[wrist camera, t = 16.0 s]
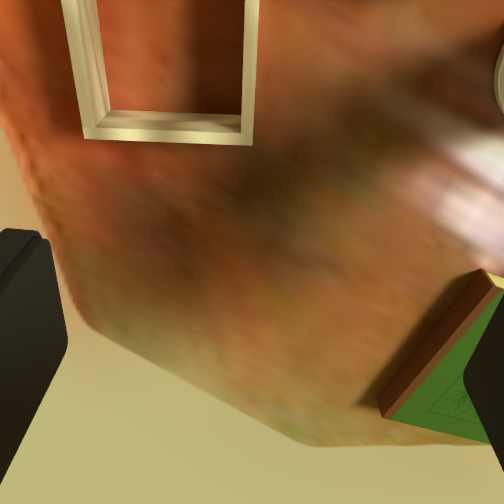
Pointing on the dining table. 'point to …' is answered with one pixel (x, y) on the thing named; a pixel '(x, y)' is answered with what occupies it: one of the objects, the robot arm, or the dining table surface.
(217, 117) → the wooden frame
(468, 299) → the hardcover book
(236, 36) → the dining table surface
